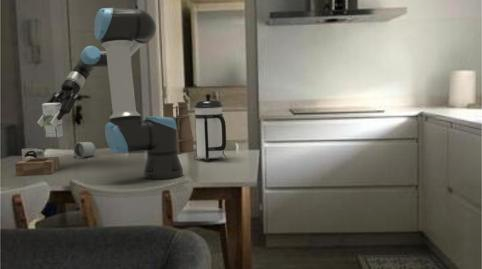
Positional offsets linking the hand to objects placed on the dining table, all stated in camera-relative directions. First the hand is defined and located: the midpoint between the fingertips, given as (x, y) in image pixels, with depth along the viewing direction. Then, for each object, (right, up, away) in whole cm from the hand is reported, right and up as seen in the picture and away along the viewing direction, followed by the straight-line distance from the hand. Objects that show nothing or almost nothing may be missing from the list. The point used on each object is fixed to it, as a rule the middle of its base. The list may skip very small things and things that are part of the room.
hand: (46, 124), depth 227 cm
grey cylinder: (+4, -15, +40) cm, 43 cm away
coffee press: (+69, -16, +18) cm, 73 cm away
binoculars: (+50, -13, +45) cm, 69 cm away
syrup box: (+2, -5, +4) cm, 7 cm away
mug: (-15, -17, +27) cm, 35 cm away
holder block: (-4, -20, +1) cm, 20 cm away
